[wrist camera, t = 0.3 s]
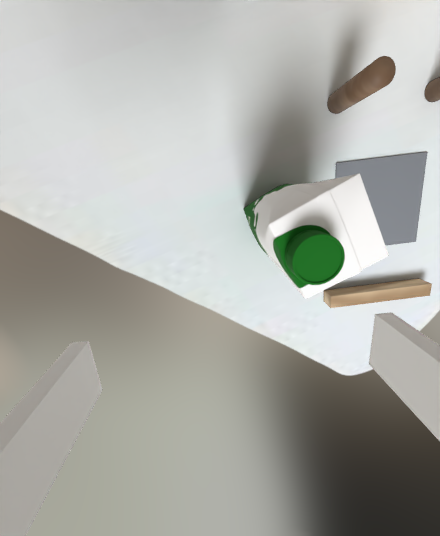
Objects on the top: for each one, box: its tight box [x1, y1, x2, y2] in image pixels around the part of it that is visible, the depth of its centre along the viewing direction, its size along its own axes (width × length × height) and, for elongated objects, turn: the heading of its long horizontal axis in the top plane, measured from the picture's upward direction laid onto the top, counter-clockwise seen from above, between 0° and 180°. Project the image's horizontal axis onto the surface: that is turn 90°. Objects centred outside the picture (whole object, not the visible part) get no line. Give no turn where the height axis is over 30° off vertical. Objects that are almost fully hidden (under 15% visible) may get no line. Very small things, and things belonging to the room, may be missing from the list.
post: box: [327, 56, 395, 114], centre depth 29 cm, size 3×3×9 cm
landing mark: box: [336, 152, 427, 245], centre depth 37 cm, size 13×13×1 cm
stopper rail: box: [324, 278, 432, 308], centre depth 40 cm, size 2×16×2 cm, turn 97°
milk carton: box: [244, 173, 389, 298], centre depth 28 cm, size 9×9×20 cm
